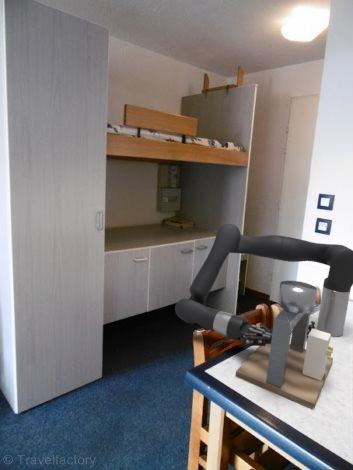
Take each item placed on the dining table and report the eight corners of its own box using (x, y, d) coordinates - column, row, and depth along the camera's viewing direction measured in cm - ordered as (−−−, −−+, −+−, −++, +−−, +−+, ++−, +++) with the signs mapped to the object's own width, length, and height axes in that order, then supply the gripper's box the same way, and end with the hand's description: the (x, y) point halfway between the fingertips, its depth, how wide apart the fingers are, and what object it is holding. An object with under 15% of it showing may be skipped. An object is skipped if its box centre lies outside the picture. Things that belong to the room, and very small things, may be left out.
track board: (267, 340, 115) (268, 336, 114) (332, 362, 103) (333, 358, 103) (235, 376, 93) (236, 371, 92) (313, 409, 81) (314, 404, 81)
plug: (306, 366, 97) (312, 328, 95) (329, 374, 94) (335, 335, 91) (302, 373, 93) (308, 334, 91) (325, 382, 90) (332, 342, 87)
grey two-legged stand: (283, 342, 111) (293, 273, 107) (314, 352, 106) (325, 280, 101) (255, 378, 90) (265, 293, 85) (292, 393, 84) (305, 304, 80)
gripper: (222, 321, 101) (278, 340, 91) (239, 308, 112) (291, 324, 102) (220, 343, 102) (274, 365, 93) (237, 329, 113) (287, 346, 104)
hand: (283, 343), depth 98 cm, fingers closed
